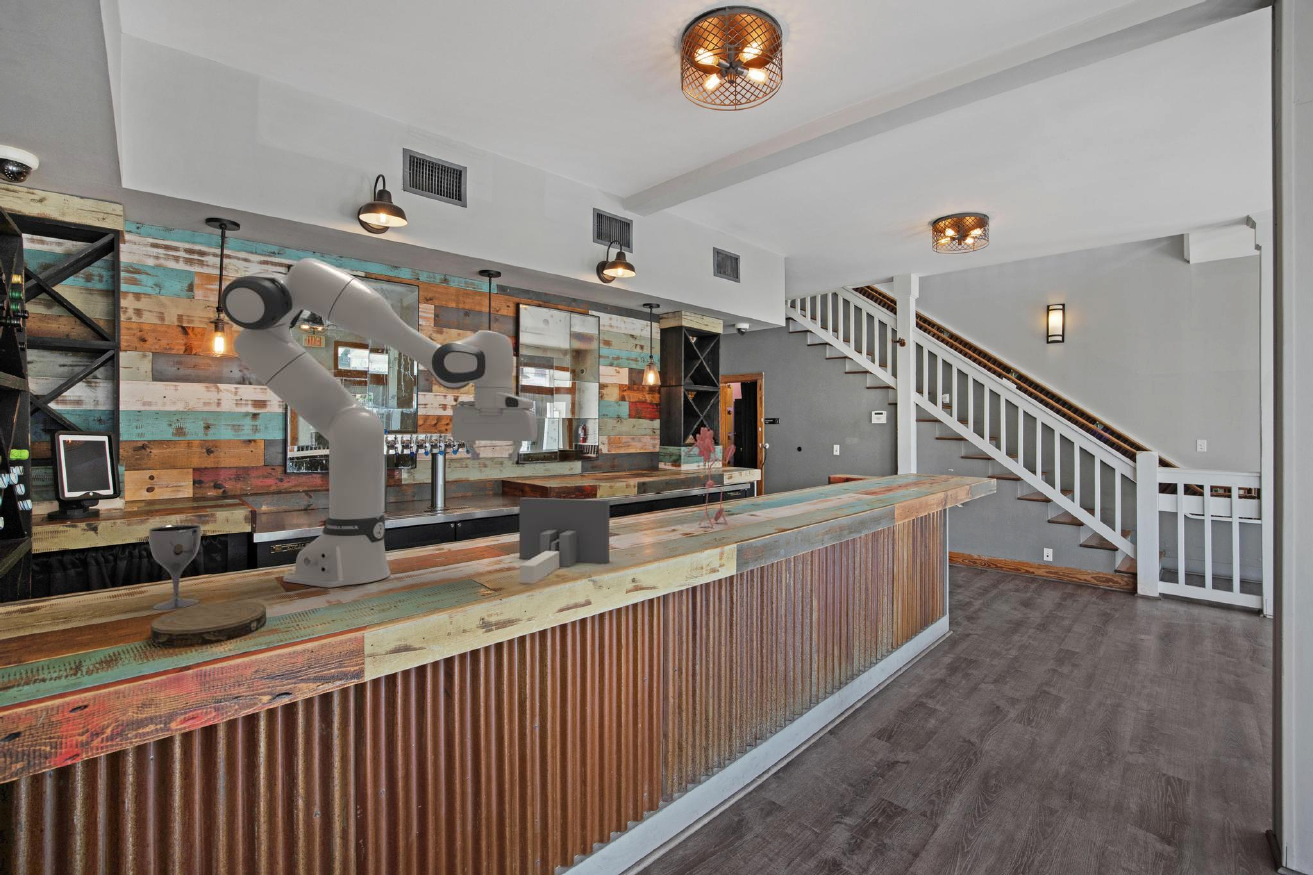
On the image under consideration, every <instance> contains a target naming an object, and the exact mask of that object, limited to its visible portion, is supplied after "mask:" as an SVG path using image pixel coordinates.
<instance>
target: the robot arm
mask: <svg viewBox="0 0 1313 875" xmlns="http://www.w3.org/2000/svg"><path fill="white" fill-rule="evenodd" d="M220 305H221V308H222V312H223V313H224V315H225V317H226V318H227V319H228V320H230V321H229V322H232V323H233V324H235V326H238V327H240V328H242V329H241V330H240V332H238V334H237V335H236V337H235V340H234V343H233V348H234V352H235V353H236V355H237V356H238V358H239V359H240V361H241V362H243V364H244V365H245V367H247V369H248V370H249V371H250V372H251V373H252V374H253V375H254V376H255V377H256V378H257V379H258V380H259V381H260V382H261V383H262V384H263V385H264V386H265V387H267V388H268V389H269V390H270V391H271V392H272V393H273V394H274V395H275V396H277V398H279V399H280V400H281V401H282V402H283V403H284V404H286V405H287V406H288V407H289V408H290V409H291V410H292V411H293V412H294V413H296V414H297V415H298V416H300V418H302V419H303V421H305V422H306V423H307V424H309V425H310V426H311V427H312V428H313V429H314V430H315V431H317V432H318V434H320V435H321V436H322V437H323V438H324V439H325V440H327V441H328V473H329V474H328V479H329V480H328V482H329V483H328V489H329V490H328V491H329V493H328V494H329V495H328V496H329V498H328V501H329V502H328V506H329V509H328V510H329V511H328V512H329V516H328V517H327V518H325V520H320V521H317V522H318V523H320V524H318V527H322V526H323V528H322V534H320V535H319V536H318V537H316V538H315V539H313V540H312V541H311V542H310V543H308V545H306V546H305V547H303V548H302V549H301V550H300V551H299V553H298V554H297V556H296V560H295V567H294V568H295V569H294V571H291V572H289V573H287V574H285V575H284V576H283V580H282V581H283V582H287V583H292V584H293V583H295V584H301V585H307V586H315V587H321V588H327V589H329V588H336V587H343V586H349V585H358V584H365V583H366V584H367V583H371V582H372V583H373V582H376V581H379V580H380V581H381V580H383V579H385V578H388V577H389V576H391V574H392V573H391V570H390V568H389V564H388V560H387V555H386V554H387V553H386V549H385V532H386V519H385V516H386V515H385V514H384V513H383V511H384V510H383V509H384V508H383V504H384V503H383V502H384V501H383V500H384V499H383V496H384V495H383V493H384V491H383V488H384V487H383V486H384V485H383V484H384V460H385V459H384V458H385V427H384V424H383V421H382V420H381V418H380V416H378V415H377V414H376V413H374V412H373V411H372V410H370V409H368V408H366V407H365V406H364V405H363V404H362V403H361V402H360V401H359V400H358V399H357V398H355V396H354V395H353V394H351V393H350V391H349V390H347V389H346V387H345V386H343V384H342V383H341V382H340V381H339V380H338V379H337V378H336V377H334V375H333V374H332V373H331V372H329V371H328V369H327V368H325V367H324V366H323V365H322V364H321V363H320V362H318V360H316V359H315V357H313V356H312V355H311V353H309V352H308V351H307V350H306V349H305V348H304V347H303V346H301V345H300V344H299V343H298V342H297V340H296V339H294V337H293V335H292V334H291V332H290V331H291V330H290V329H293V328H295V326H296V325H297V323H298V321H299V319H300V317H301V315H302V314H303V313H304V311H308V312H310V313H313V314H315V315H316V316H319V317H321V318H322V319H324V320H325V321H327V322H330V323H331V324H332V325H334V326H336V327H338V328H340V329H342V330H345V331H347V332H349V333H352V334H355V335H357V336H360V337H362V338H365V339H368V340H371V341H374V342H377V343H380V344H383V345H385V346H387V347H390V348H392V349H393V350H396V351H397V352H399V353H400V354H402V355H404V356H405V357H407V358H408V359H411V361H412V360H413V361H414V362H416V363H418V364H419V365H420V366H422V367H423V368H425V369H426V370H427V371H428V372H429V373H430V375H431V376H432V377H433V379H434V380H435V381H436V382H437V383H438V385H440V387H442V388H445V389H448V390H462V389H464V388H466V387H468V386H469V385H470V384H473V386H474V387H473V388H474V389H473V393H474V395H473V397H474V400H469V401H465V400H462V401H461V400H460V401H459V400H458V402H456V403H455V404H454V405H453V407H452V420H451V421H452V422H451V428H450V429H451V432H450V433H451V434H450V436H451V438H452V439H453V440H454V441H465V447H466V448H467V449H468V450H467V451H468V452H469V453H470V460H471V461H480V458H481V457H480V456H481V453H480V452H477V450H476V448H475V446H476V443H477V442H478V441H479V442H480V441H485V442H486V441H487V442H489V441H491V442H493V441H494V442H496V441H497V442H512V446H513V447H514V448H513V450H512V452H511V453H508V456H507V457H508V459H507V460H508V462H517V461H518V454H519V452H520V451H521V448H522V447H523V442H534V441H535V440H536V439H537V438H538V422H537V416H536V414H535V411H533V409H534V405H535V404H534V401H533V400H532V399H529V398H527V397H523V396H521V395H520V394H519V395H518V394H515V393H514V389H515V388H514V383H513V374H514V370H515V369H514V368H515V366H514V364H515V363H514V350H513V348H514V347H513V344H512V340H511V338H510V337H509V336H508V335H507V334H505V333H503V332H500V331H497V330H493V329H486V328H485V329H484V328H483V329H479V330H477V332H475V333H473V334H472V335H469V336H467V337H465V338H462V339H459V340H455V341H451V342H447V343H444V344H439V343H438V342H436V341H434V340H432V339H431V338H429V337H427V336H425V335H424V334H422V333H421V332H419V331H418V330H416V329H414V328H413V327H411V326H409V325H408V324H406V322H405V321H404V320H402V319H401V318H400V317H399V315H397V313H396V312H395V311H394V309H393V308H392V306H391V305H390V304H389V302H388V300H386V299H385V298H384V297H383V296H382V295H381V294H380V293H379V292H377V291H376V290H375V289H373V288H372V287H371V286H370V285H368V284H367V283H366V282H364V281H362V280H360V279H359V278H357V277H355V276H354V275H352V274H350V273H348V272H346V271H345V270H343V269H341V268H338V267H336V266H335V265H332V264H331V263H328V262H324V261H322V260H320V259H317V258H314V257H305V258H302V259H300V260H298V261H297V262H296V263H294V264H293V265H292V267H291V268H290V269H289V271H288V273H286V272H284V271H283V272H282V271H276V270H275V271H262V272H261V271H260V272H254V273H251V274H250V275H246V276H240V277H237V278H235V279H233V280H232V281H230V282H229V283H228V284H227V285H226V286H224V288H223V291H222V293H221V296H220ZM476 441H477V442H476Z"/></svg>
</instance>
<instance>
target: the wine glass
mask: <svg viewBox="0 0 1313 875" xmlns="http://www.w3.org/2000/svg"><path fill="white" fill-rule="evenodd" d="M201 528H202V526H201V525H200V524H172V525H165V526H158V527H153V528H149V530H148V539H149V540H148V541H149V548H150V552H151V554H152V557H153V559H154V560H155V562H156V563H157V564H159V565H160V566H162V567H163V568H164V569H165V570H166V571H167V572H168V573H169V575H170V577H171V580H172V588H173V597H172V598H171V599H169V600H167V601H163V602H160V603H157V604H155V605H153V606H152V609H153V610H157V611H159V610H160V611H169V610H177V608H179V609H185V608H188V607H193V606H194V605H193V604H195V605H197V604H198V603H199V602H200V601H199V600H198V599H196V598H181V597H180V595H179V590H180V589H179V587H180V586H179V585H180V579H181V576H182V573H183V571H184V570H185V569H186V567H187V566H188V565H189V564H190V563H191V561H193V560H194V559H195V557H196V556H197V554H198V551H199V549H200V544H201V536H202V529H201ZM187 606H188V607H187Z"/></svg>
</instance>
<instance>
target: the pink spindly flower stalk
mask: <svg viewBox="0 0 1313 875" xmlns="http://www.w3.org/2000/svg"><path fill="white" fill-rule="evenodd" d="M695 437H696V442H695V443H694V444H693V445H692V447H691V448H690V449H689V450H688V451H687V452H686V453H685V455H684V456H683V457H684V458H686V456H688V455H689V454H690V453H691V452H692V451H693V450H694V449H695V447H696V448H697V449H698V451H697V457H698V458H702V457H703V458H702V459H703V462H704V463H706V462H707V463H711V462H712V463H711V464H710V465H709V467H708V468H709V470H708V471H709V473H708V481H707V482H706V488H707V489H706V502H705V511H704V513H705V514H704V516H703V518H702V519H701V521H700V523H699V524H698V526H699V527H700V525H701V524H702V522H704V520H705V518H706V517H707V518H708V521H709V524H710V526H711V528H712V527H714V524H713V522H712V520H711V517H710V514H709V512H710V510H709V509H708V500H709V498H708V496H709V489H712V488H715V489H717V490H719V491H720V501H719V502H720V503H719V509H718V510H717V511H716V513H715V514H714V517H713V518H714V522H715V523H717V522H718V521H719V520H720V518H723V522H724V523H725V525H726V524H728V522H727V520H726V517H725V515H724V512H725V511H724V510H725V509H724V507H722V496H723V490H722V489H721V488H720V487H719V488H718V487H717V486H715V482H714V480H711V474H712V473H711V471H712V466H713V465H714V464H715V463H716V462H721V463H723V464H725V465H727V464H728V462H729V460H730V458H731V457H733V455H734V453H735V452H736V446H735V445H734V444H731V445H730V446H728V447H727V448H726V449H725V450H724V457H725V460H726V461H724V460H721V459H719V458H718V457H717V456H716V454H715V453H716V446H715V440H714V439H713V437H714V431H713V430H709V429H708V427H700V434H698V433H697V434H696V436H695ZM712 454H713V456H714V459H711V457H712ZM683 525H685V522H684V523H682V525H681V527H683ZM683 528H684V527H683Z"/></svg>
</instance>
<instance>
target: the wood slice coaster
mask: <svg viewBox="0 0 1313 875" xmlns="http://www.w3.org/2000/svg"><path fill="white" fill-rule="evenodd" d="M266 623H267V606H266V605H264V604H263V603H260V602H254V601H242V600H241V601H224V602H215V603H207V604H202V605H193V606H189V607H184V608H180V609H178V610H177V609H176V610H175V611H174V610H173V611H171V612H168V613H164V614H163V615H160V616H158V617H157V618H154V619H153V620H152V622H150V639H152V640H151V642H152V641H153V642H152V644H153V643H155V644H154V645H156V644H158V645H157V646H159V645H161V646H160V647H164V646H165V647H166V648H167V647H168V648H187V646H192V647H196V646H195V645H200V646H209V645H214V644H219V643H223V642H229V641H233V640H235V639H239V638H243V637H246V636H249V635H250V634H254V633H256V632H258V631H260V630H261V629H262V628H264V627H265V626H266ZM259 629H260V630H259ZM206 644H207V645H206Z"/></svg>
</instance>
